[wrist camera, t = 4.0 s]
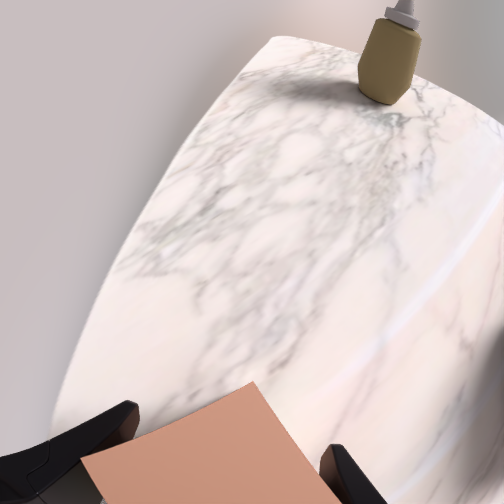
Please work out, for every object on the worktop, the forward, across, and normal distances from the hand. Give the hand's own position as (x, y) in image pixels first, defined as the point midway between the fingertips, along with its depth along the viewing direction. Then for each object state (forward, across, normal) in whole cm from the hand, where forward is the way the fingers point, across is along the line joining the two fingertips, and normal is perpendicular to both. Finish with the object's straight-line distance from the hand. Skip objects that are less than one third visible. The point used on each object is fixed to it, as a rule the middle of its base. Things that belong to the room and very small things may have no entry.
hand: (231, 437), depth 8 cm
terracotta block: (+4, 0, +6) cm, 7 cm away
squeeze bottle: (+34, -11, -24) cm, 44 cm away
